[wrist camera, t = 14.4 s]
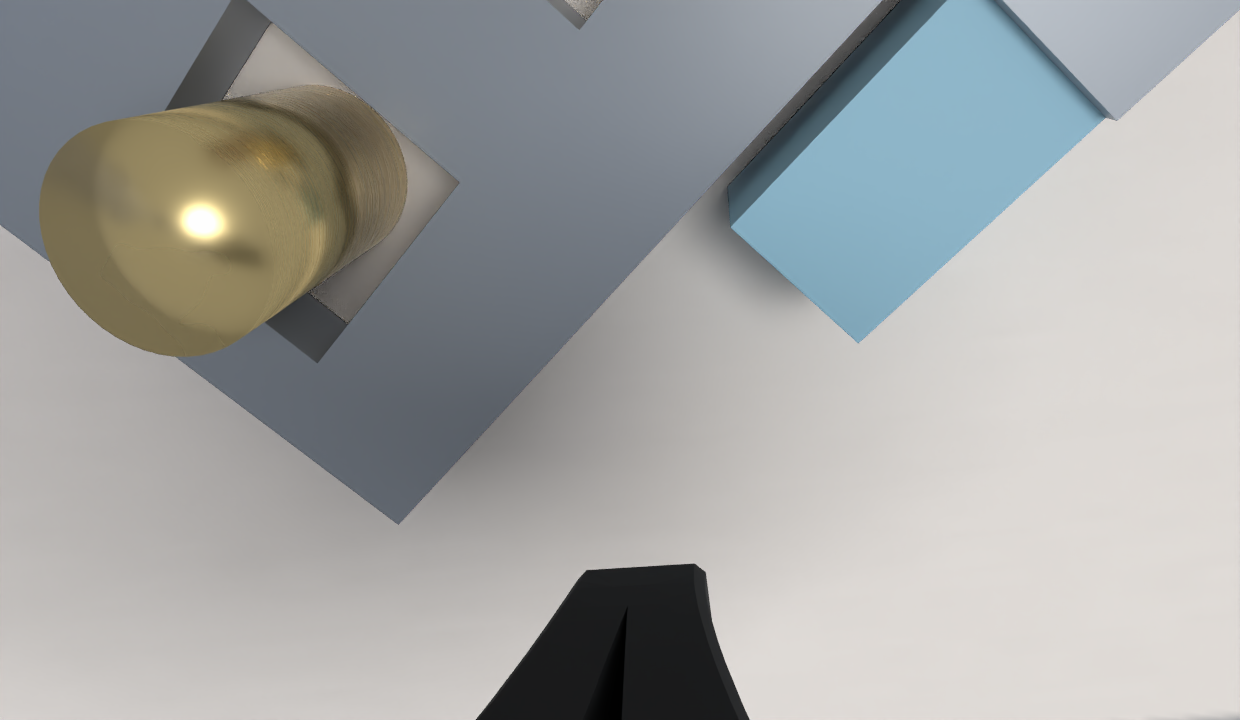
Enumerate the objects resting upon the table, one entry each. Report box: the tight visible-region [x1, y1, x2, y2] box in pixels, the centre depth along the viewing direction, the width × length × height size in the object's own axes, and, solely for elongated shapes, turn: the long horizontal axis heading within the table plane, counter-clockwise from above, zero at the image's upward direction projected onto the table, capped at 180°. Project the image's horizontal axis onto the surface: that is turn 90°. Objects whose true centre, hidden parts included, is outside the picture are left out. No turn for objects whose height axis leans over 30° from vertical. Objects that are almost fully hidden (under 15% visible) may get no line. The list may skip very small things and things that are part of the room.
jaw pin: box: [39, 85, 407, 357], centre depth 16 cm, size 4×4×6 cm
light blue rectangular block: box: [727, 0, 1106, 343], centre depth 15 cm, size 3×5×4 cm, turn 139°
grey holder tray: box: [0, 0, 1240, 525], centre depth 15 cm, size 16×18×4 cm
